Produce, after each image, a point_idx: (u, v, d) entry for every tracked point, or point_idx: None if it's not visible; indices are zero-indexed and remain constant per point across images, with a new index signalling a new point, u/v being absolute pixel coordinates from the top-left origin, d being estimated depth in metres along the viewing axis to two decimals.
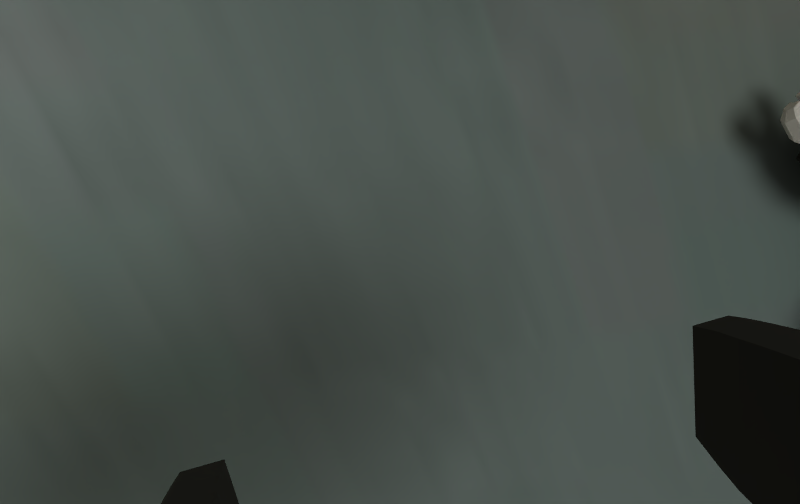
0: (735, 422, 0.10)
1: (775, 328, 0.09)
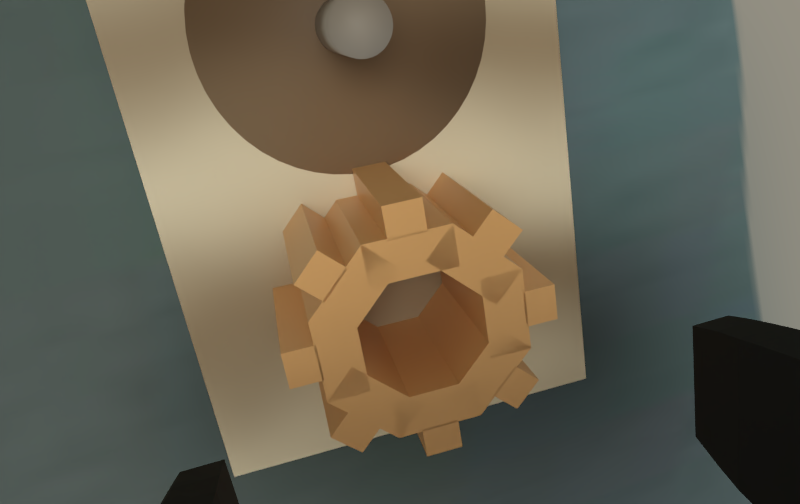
0: (735, 422, 0.10)
1: (775, 328, 0.09)
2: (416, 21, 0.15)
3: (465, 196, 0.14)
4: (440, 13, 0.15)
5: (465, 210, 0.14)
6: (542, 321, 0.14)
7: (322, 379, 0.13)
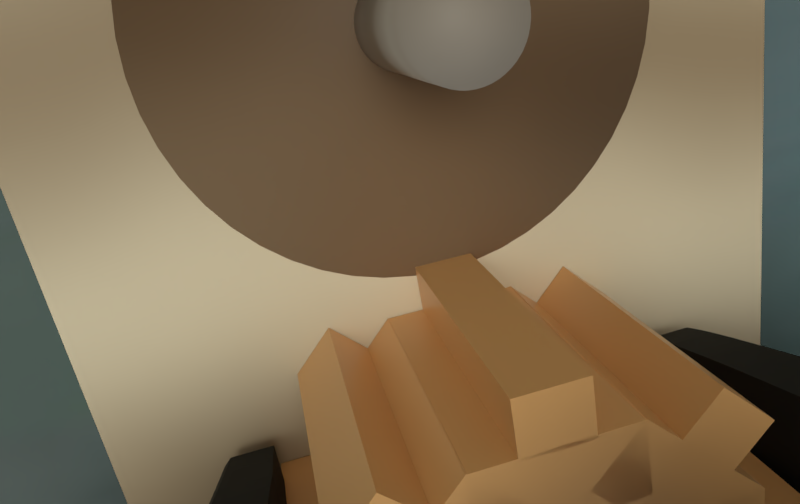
0: None
1: (730, 341, 0.09)
2: (530, 12, 0.09)
3: (633, 332, 0.08)
4: None
5: (642, 366, 0.07)
6: None
7: None
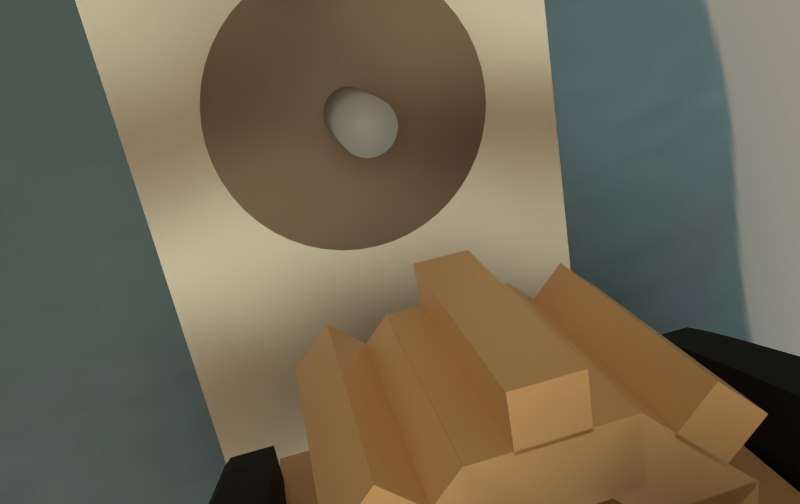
0: None
1: (730, 341, 0.09)
2: (419, 105, 0.16)
3: (629, 328, 0.08)
4: (442, 99, 0.16)
5: (637, 361, 0.08)
6: None
7: None
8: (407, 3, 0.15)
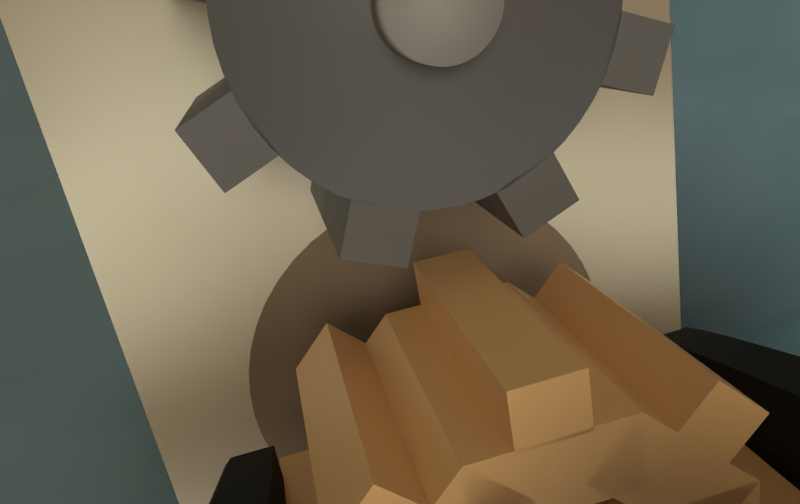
0: None
1: (730, 341, 0.09)
2: None
3: (630, 327, 0.08)
4: None
5: (638, 360, 0.08)
6: None
7: None
8: (511, 237, 0.12)
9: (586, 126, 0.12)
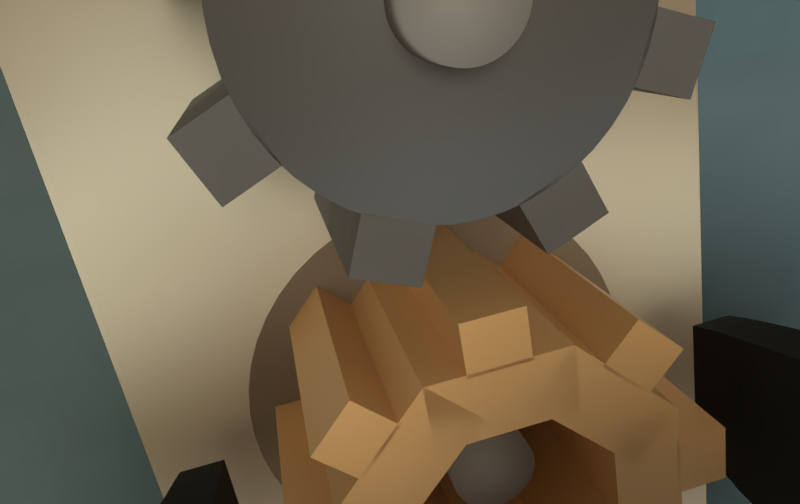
0: (735, 422, 0.10)
1: (775, 328, 0.09)
2: None
3: (574, 283, 0.09)
4: None
5: (579, 309, 0.09)
6: (702, 483, 0.09)
7: None
8: None
9: None
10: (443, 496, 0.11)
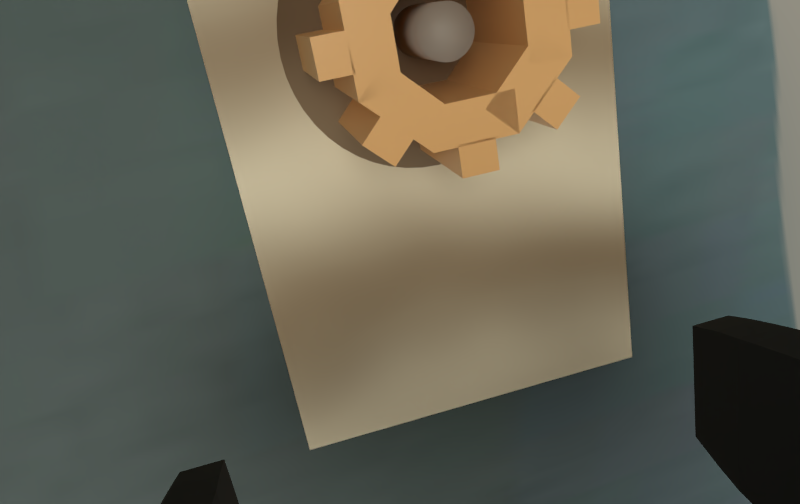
0: (735, 422, 0.10)
1: (775, 328, 0.09)
2: None
3: None
4: None
5: None
6: (584, 25, 0.13)
7: (353, 73, 0.13)
8: None
9: None
10: None
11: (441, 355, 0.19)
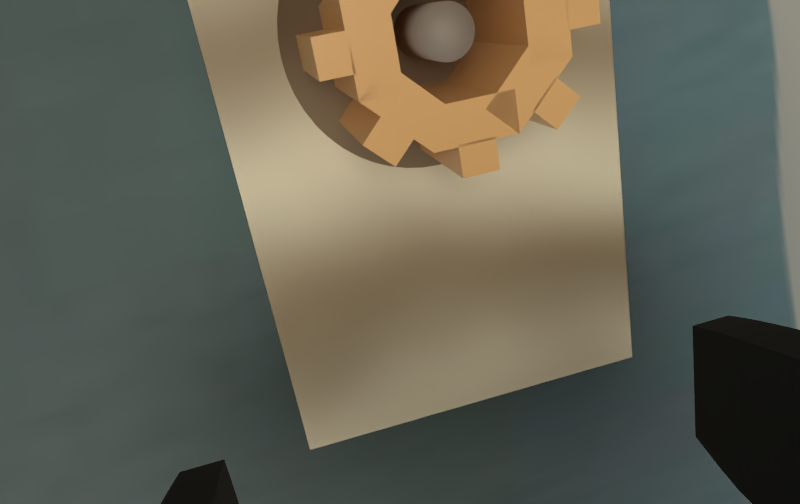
0: (735, 422, 0.10)
1: (775, 328, 0.09)
2: None
3: None
4: None
5: None
6: (584, 25, 0.13)
7: (353, 73, 0.13)
8: None
9: None
10: None
11: (441, 355, 0.19)
